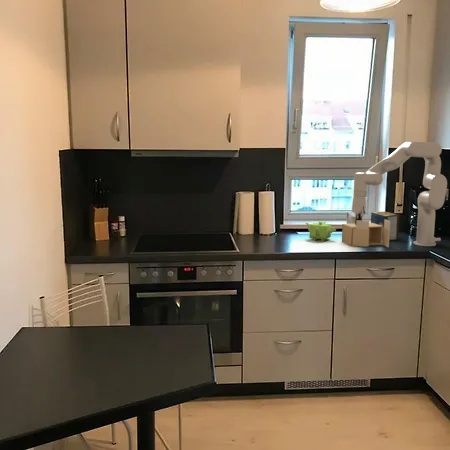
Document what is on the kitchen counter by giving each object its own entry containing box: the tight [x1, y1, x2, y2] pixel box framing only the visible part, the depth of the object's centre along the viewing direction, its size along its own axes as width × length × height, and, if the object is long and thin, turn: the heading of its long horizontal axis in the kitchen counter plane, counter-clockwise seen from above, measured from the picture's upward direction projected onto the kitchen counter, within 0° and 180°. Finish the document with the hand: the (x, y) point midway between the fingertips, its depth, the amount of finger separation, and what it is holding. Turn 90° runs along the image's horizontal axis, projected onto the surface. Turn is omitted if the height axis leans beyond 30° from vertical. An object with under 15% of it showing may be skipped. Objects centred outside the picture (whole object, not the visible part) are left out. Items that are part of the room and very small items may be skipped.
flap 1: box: [351, 219, 370, 248], centre depth 305 cm, size 9×1×15 cm, turn 72°
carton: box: [341, 222, 383, 247], centre depth 316 cm, size 20×12×11 cm, turn 103°
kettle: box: [305, 221, 337, 242], centre depth 326 cm, size 15×14×11 cm
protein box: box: [370, 211, 400, 241], centre depth 333 cm, size 10×15×16 cm
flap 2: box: [382, 220, 390, 248], centre depth 307 cm, size 9×1×15 cm, turn 5°
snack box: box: [346, 211, 356, 224], centre depth 332 cm, size 21×6×15 cm, turn 179°
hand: (358, 225), depth 308 cm, fingers closed
